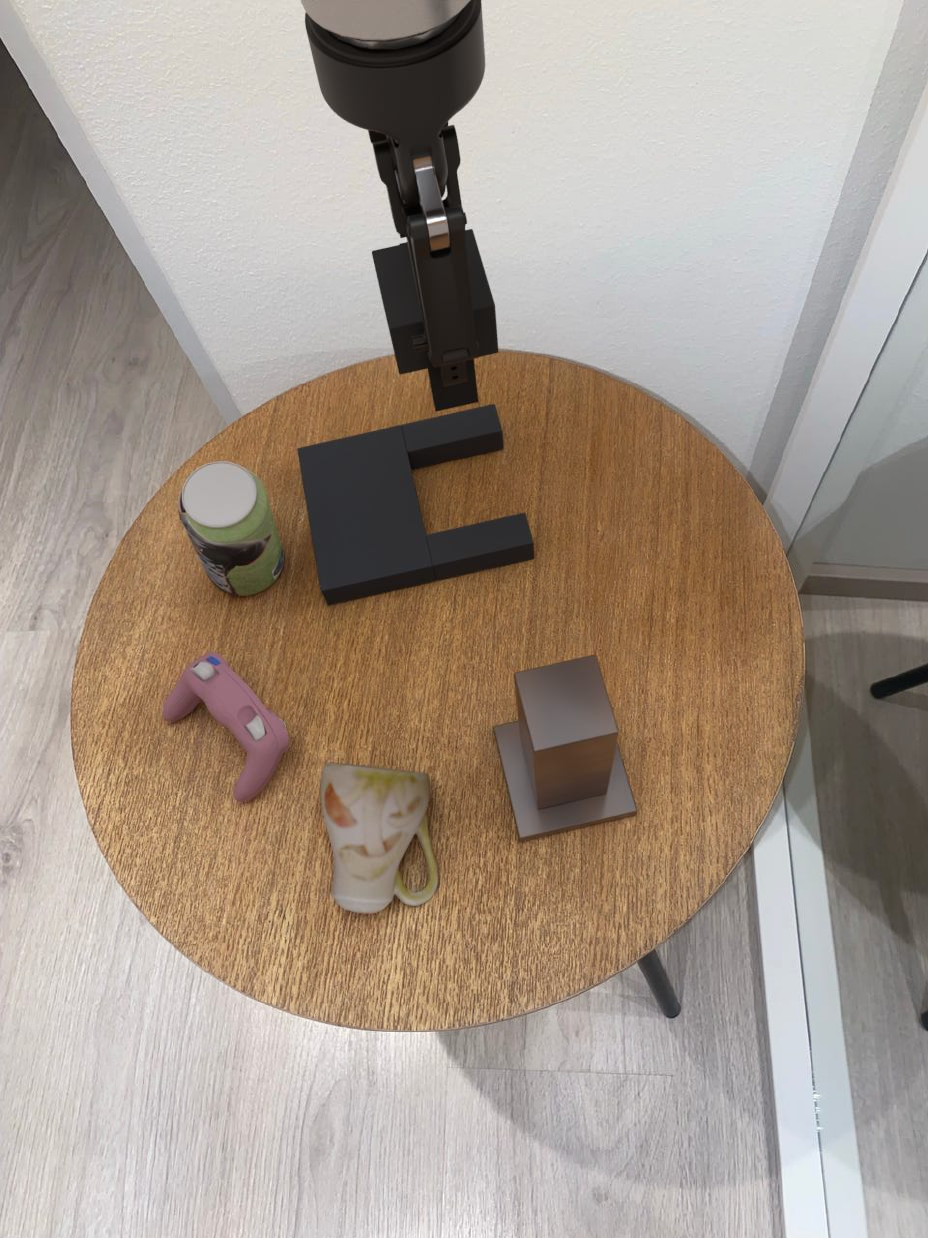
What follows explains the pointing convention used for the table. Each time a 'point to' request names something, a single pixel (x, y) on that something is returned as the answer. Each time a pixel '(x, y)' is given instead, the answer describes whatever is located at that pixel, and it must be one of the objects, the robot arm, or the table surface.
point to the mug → (375, 833)
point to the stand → (563, 751)
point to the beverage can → (231, 527)
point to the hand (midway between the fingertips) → (445, 359)
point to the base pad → (400, 508)
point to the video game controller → (232, 718)
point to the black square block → (406, 309)
